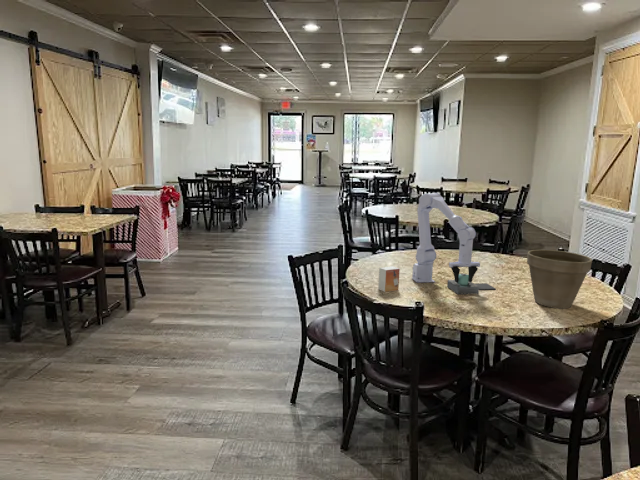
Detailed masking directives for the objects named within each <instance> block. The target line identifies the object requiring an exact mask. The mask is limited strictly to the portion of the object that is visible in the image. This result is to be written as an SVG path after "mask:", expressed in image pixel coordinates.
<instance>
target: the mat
mask: <svg viewBox="0 0 640 480" xmlns="http://www.w3.org/2000/svg"><path fill="white" fill-rule="evenodd" d="M475 284H476V285H477V286H479V291H495V290H496V287H494V286H492V285H491V284H489V283H487V282H486V283H475Z"/></svg>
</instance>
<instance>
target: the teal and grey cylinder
mask: <svg viewBox="0 0 640 480" xmlns="http://www.w3.org/2000/svg"><path fill="white" fill-rule="evenodd" d="M468 278H469V274H467V273H459V280H458V284H461V285H468Z"/></svg>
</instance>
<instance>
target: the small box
mask: <svg viewBox="0 0 640 480" xmlns="http://www.w3.org/2000/svg"><path fill="white" fill-rule="evenodd" d="M400 270H401V269H400V268H399V267H396V266H393V265H392V266H384V267H379V268H378V285H377V288H378V290H380V291H382V292H384V293H386V292H395V291H399V284H400Z"/></svg>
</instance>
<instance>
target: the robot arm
mask: <svg viewBox="0 0 640 480" xmlns="http://www.w3.org/2000/svg"><path fill="white" fill-rule="evenodd" d="M433 209H438V210H439V211H440V212H441V213H442V214H443V215H444V216H445V218H447V219H448V220H449V221H448V222H449V225H450V226H451V228H453V230H454V231H455V232H456V234H457V237H458V240H459V248H458V249H459V250H458V261H451V262H450V261H449V262H448V267H449V268H450V269H451V270H452V273H453V277H454V280H455V282H458V280H459V274H460V273H461V268H465V267H467V268H468V275H469V278H468V281H469V282H472V283H473V280H474V276H475V274H476V273H477V271H478V270H479V269H478V268H480V267H481V262H479V261H472V255H473V245H474V244H473V242H474V239H475V238H476V236H477V233H476V230H475V228H474V227H472V226H469V224H467V223H466V222H465V221H464V218H463V217H462V216H460V215H457V214H455V213H454V212H453V210H452V209H451V208H450V206H449V205H448V204H447V203H446V201H445V199H444V197H443V196H442V195H441V194H440V193H439V192H433V193H423V194H422V195H421V196H420V197H418V206H417V210H416V211H417V222H418V223H417V224H418V225H417V226H418V237H419V245H418V246H417V248H416V252H415V253H416V254H415V261H416V263H413V265H412V277H411V279H412V280H413V281H414V282H415V283H435V282H436V281H435V280H434V279H433V270H434V269H433V267H434V262H435V261H436V259H437V252H436V250H435V246H434V245H433V244H432V238H431V225H430V223H431V222H430V212H431V211H432V210H433Z"/></svg>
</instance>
